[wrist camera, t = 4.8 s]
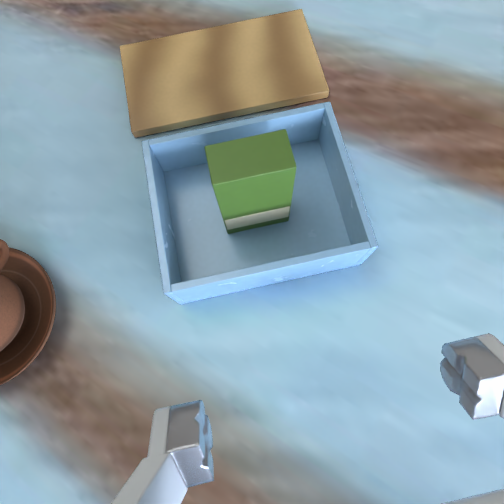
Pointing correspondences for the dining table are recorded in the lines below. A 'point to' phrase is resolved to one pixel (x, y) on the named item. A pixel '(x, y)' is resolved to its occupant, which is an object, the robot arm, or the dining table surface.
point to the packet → (253, 179)
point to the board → (221, 73)
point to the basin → (262, 238)
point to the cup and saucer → (23, 310)
